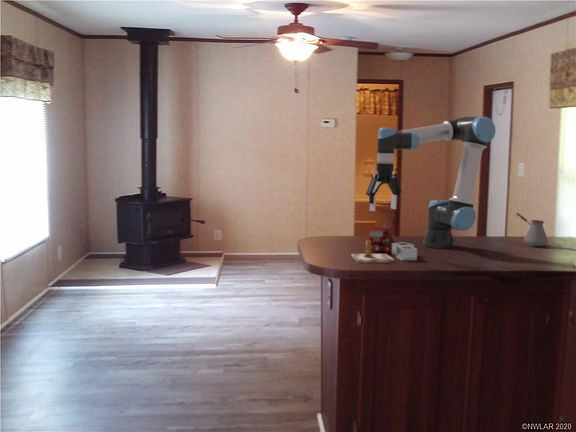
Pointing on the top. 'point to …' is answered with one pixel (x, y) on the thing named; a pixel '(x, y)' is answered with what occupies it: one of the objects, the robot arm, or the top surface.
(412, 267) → the top surface
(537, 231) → the coffee pot
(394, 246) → the white block with hole
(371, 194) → the robot arm
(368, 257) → the keeper
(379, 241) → the toy fire truck
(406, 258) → the white square box
